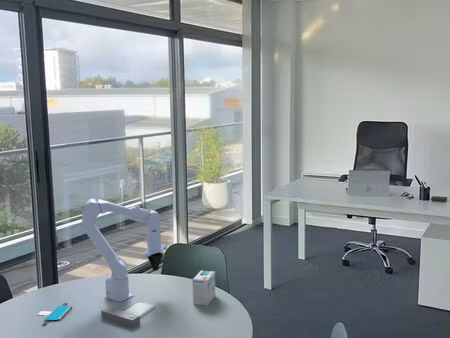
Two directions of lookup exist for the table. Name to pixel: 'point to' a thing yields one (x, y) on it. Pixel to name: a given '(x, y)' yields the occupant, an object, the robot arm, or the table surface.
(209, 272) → the light bulb box
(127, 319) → the charging dock
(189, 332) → the table surface
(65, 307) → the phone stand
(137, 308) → the external hard drive
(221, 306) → the table surface
